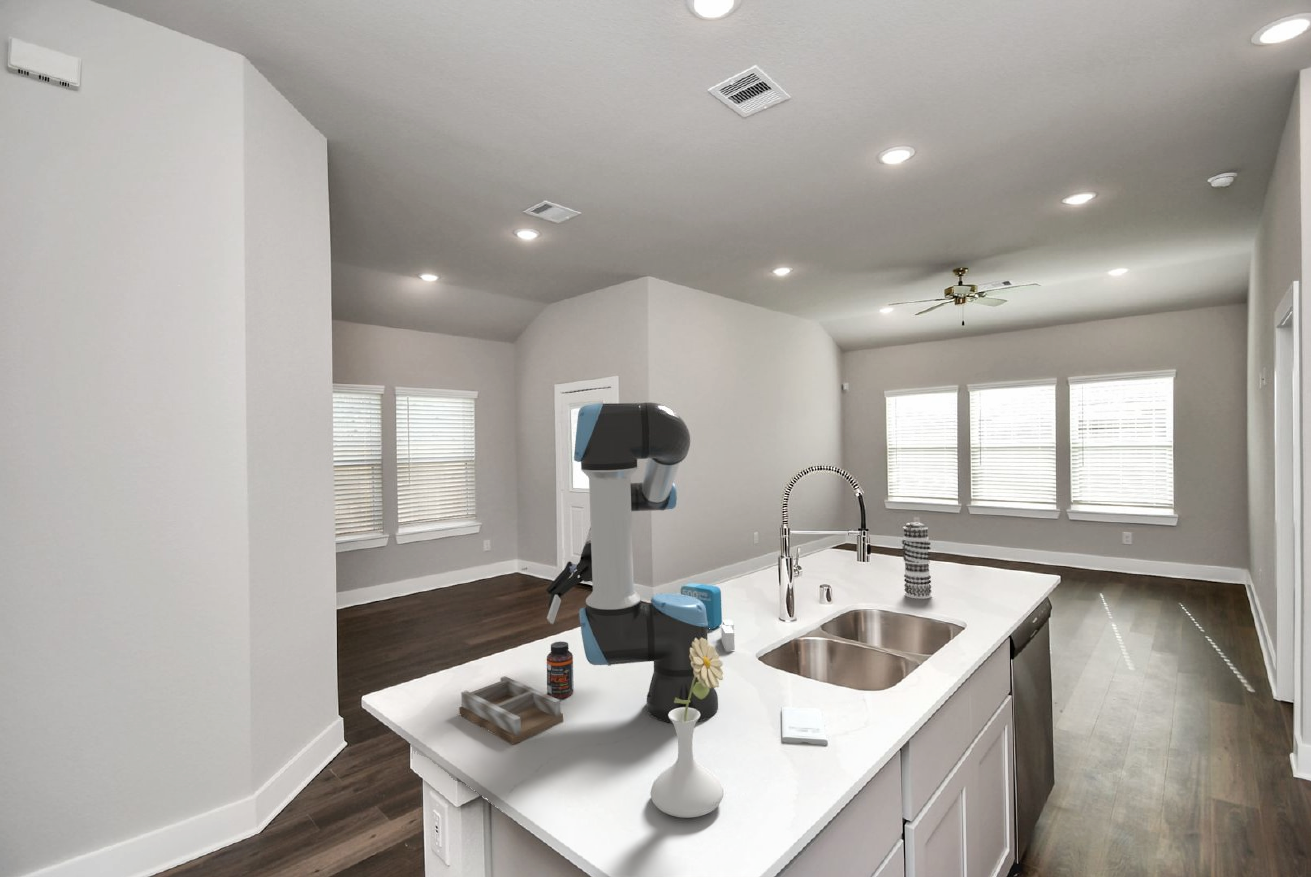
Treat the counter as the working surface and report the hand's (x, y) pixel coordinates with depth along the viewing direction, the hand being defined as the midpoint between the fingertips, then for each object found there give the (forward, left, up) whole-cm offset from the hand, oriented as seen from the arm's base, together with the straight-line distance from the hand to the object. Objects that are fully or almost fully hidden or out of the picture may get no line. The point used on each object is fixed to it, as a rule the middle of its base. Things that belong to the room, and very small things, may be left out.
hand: (575, 623), depth 143 cm
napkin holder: (-15, -42, -14) cm, 47 cm away
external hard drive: (-54, -12, -14) cm, 57 cm away
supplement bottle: (-4, +8, -13) cm, 16 cm away
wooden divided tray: (-5, +22, -13) cm, 26 cm away
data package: (+1, -50, -13) cm, 51 cm away
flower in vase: (-52, +20, -13) cm, 58 cm away
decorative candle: (-39, -120, -13) cm, 127 cm away
